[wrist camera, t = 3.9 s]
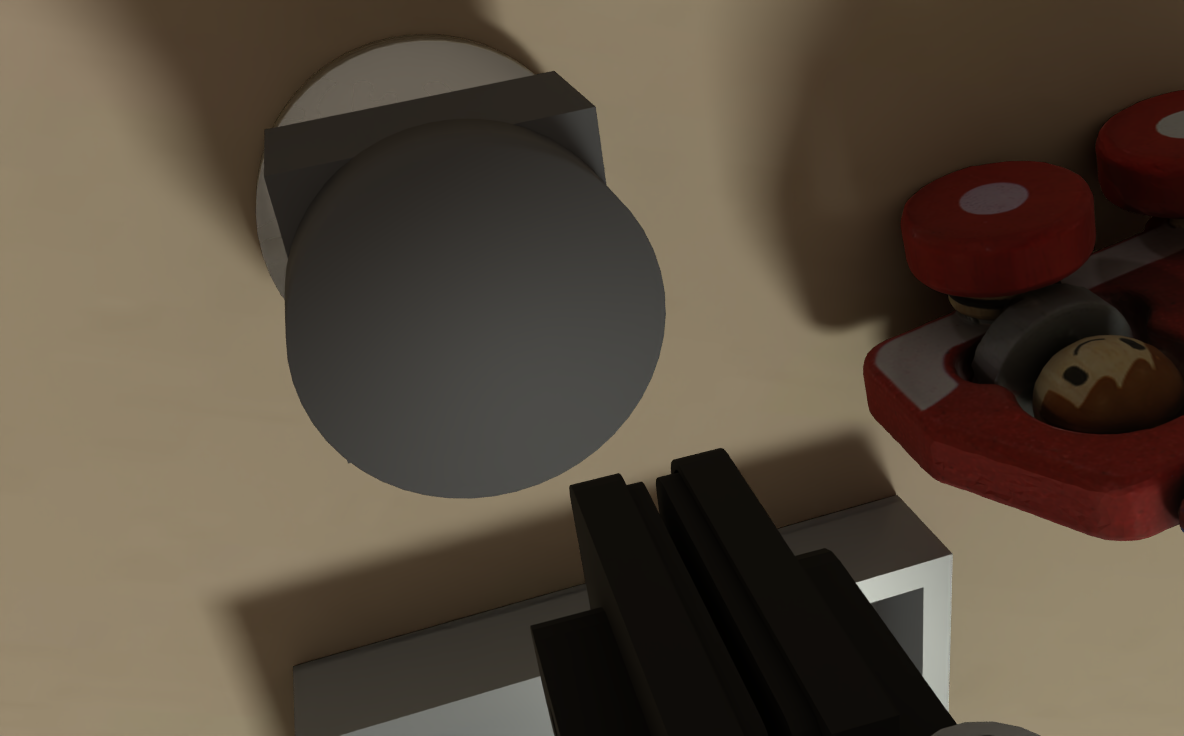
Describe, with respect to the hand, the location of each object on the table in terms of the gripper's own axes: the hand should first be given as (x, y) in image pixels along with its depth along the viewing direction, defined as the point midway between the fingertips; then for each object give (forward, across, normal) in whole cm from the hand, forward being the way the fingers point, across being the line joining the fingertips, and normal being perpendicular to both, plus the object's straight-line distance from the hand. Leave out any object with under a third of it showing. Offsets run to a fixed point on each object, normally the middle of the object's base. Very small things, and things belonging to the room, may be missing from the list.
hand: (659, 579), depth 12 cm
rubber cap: (+11, +1, 0) cm, 11 cm away
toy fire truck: (+14, -14, +5) cm, 20 cm away
